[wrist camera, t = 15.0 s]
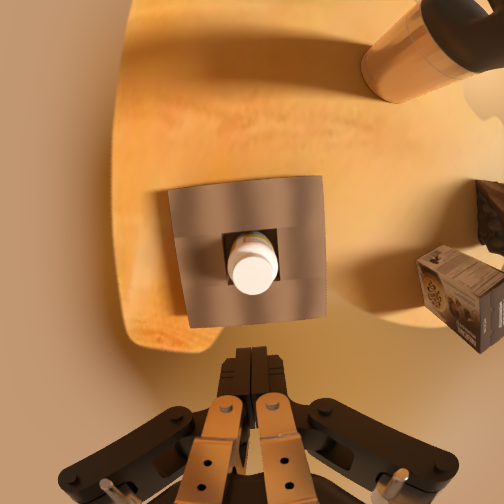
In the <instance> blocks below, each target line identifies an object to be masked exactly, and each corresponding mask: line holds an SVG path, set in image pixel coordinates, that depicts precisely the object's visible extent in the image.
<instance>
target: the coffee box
mask: <svg viewBox="0 0 504 504" xmlns="http://www.w3.org/2000/svg"><path fill="white" fill-rule="evenodd" d="M416 266H417V270H418V274H419V279H420V283H421V288H422V293H423V298H424V304H425V307H426V308H428V309H429V310H430V311H431V312H432V313H434V314H435V315H436V316H437V317H438V318H439V319H441V320H442V321H443V322H444V323H445V324H447V325H448V326H449V327H450V328H451V329H452V330H453V331H455V332H456V333H457V334H458V335H459V336H461V338H462V339H464V340H465V341H466V342H467V343H468V344H469V345H470V346H472V348H474V349H475V350H476V351H477V352H478V353H479V354H481V353H483V352H484V351H485V350H486V349H488V348H489V347H490V346H492V345H493V344H495V343H496V342H497V341H499V340H500V339H501V338H502V337H503V336H504V272H502V271H500V270H498V269H496V268H494V267H492V266H490V265H488V264H486V263H483V262H481V261H479V260H477V259H475V258H473V257H470V256H468V255H466V254H464V253H462V252H460V251H457V250H455V249H453V248H450V247H448V246H446V245H441V246H440V247H438V248H436V249H434V250H433V251H431V252H429V253H427V254H425V255H424V256H422V257H420V258H418V259H417V260H416Z"/></svg>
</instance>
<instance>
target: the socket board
mask: <svg viewBox="0 0 504 504" xmlns="http://www.w3.org/2000/svg"><path fill="white" fill-rule="evenodd" d="M168 198H169V206H170V213H171V221H172V228H173V235H174V242H175V248H176V254H177V261H178V267H179V272H180V278H181V284H182V289H183V295H184V300H185V305H186V310H187V315H188V320H189V325H190V328H208V327H226V326H239V325H240V326H241V325H253V324H266V323H276V322H287V321H295V320H305V319H313V318H322V317H326V238H325V214H324V196H323V181H322V176H300V177H284V178H271V179H259V180H248V181H237V182H228V183H219V184H210V185H202V186H194V187H186V188H179V189H173V190H168ZM247 231H258V232H261V233H263V234H264V235H266V236H267V237H268V238H269V239H270V241H271V243H272V245H273V249H274V252H275V255H276V258H277V262H278V271H277V275H276V277H275V279H274V280H273V282H272V283H271V285H270V287H269V288H268V289H267V290H266V291H264V292H263V293H260V294H257V295H249V294H245V293H243V292H241V291H240V290H239V289H237V287H236V286H235V284H234V282H233V281H232V280H231V278H230V276H229V273H228V259H229V255H230V251H231V247H232V244H233V242H234V240H235V239H236V238H237V237H238V236H239V235H240V234H242V233H244V232H247Z"/></svg>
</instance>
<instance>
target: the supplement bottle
mask: <svg viewBox="0 0 504 504" xmlns="http://www.w3.org/2000/svg"><path fill="white" fill-rule="evenodd" d="M277 271H278V262H277V258H276V255H275V252H274V249H273V245H272V243H271V241H270V239H269V238H268V237H267V236H266V235H264V234H263V233H261V232H258V231H247V232H244V233H242V234H240V235H239V236H238V237H237V238H236V239H235V240H234V242H233V244H232V247H231V251H230V255H229V259H228V273H229V276H230V278H231V280H232V281H233V282H234V284H235V286H236V287H237V289H239V290H240V291H241V292H243V293H245V294H249V295H257V294H260V293H263V292H264V291H266V290H267V289H268V288H269V287H270V285H271V283H272V282H273V280H274V279H275V277H276V275H277Z"/></svg>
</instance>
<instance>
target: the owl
mask: <svg viewBox="0 0 504 504" xmlns="http://www.w3.org/2000/svg"><path fill="white" fill-rule="evenodd" d="M475 182H476V191H477V205H478V222H479V229H478V238H479V241H480V243H481V244H482V245H485V244H486V246H487V248H488V250H489V252H490V253H495V254H500V255H502V256H504V184H503V183H498V182H491V181H485V180H484V181H482V180H476V181H475Z"/></svg>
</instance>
